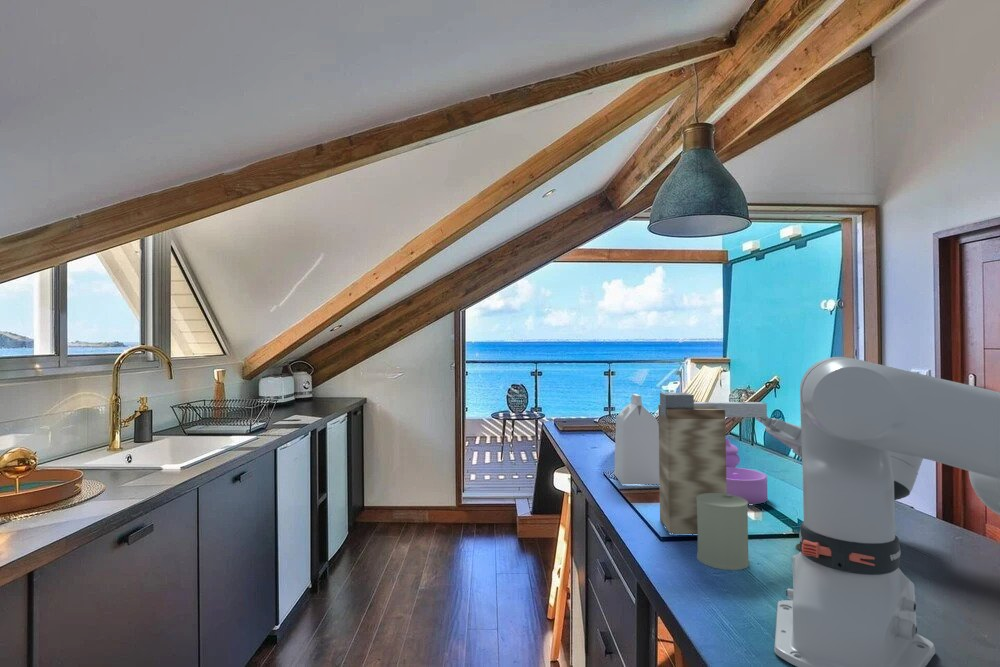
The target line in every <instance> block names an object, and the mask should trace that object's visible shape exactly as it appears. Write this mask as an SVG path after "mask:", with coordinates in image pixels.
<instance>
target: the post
mask: <svg viewBox="0 0 1000 667" xmlns="http://www.w3.org/2000/svg"><path fill="white" fill-rule="evenodd" d="M658 425H659V482H660V486H659V521H660V520H661V521H660V523H661V524H662V523H663V524H664V526H665V527H666V529H667V530H668V532H669V533H671V534H672V533H673V534H692V535H693V534H698V526H697V499H696V497H697V496H698V495H700V494H705V493H723V494H727V485H726V439H727V437H726V436H727V434H726V417H725V410H724V409H666V417H664V416H662V415H661V414H660V404H658ZM663 524H662V525H663ZM664 526H663V527H664ZM665 527H664V528H665ZM666 529H665V530H666ZM667 530H666V531H667ZM668 532H667V533H668ZM669 533H668V534H669Z"/></svg>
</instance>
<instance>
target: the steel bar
mask: <svg viewBox="0 0 1000 667" xmlns="http://www.w3.org/2000/svg"><path fill="white" fill-rule="evenodd" d="M694 396H695V395H694V394H692V393H689V392H659V405H660V414H661V415H662V416H664V417H666V409H724V410H725V418H756V417H768V409H767V408H768V407H767V406H768V405H767V404H768V403H765V402H763V401H762V402H761V401H757V402H756V401H741V402H740V401H694V400H695V399H694Z"/></svg>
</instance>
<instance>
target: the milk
mask: <svg viewBox="0 0 1000 667" xmlns="http://www.w3.org/2000/svg"><path fill="white" fill-rule="evenodd" d="M614 436H615V439H614V440H615V441H614V474H613V475H615V476H616V477H617V478H618V479H619V480H620V482H621V483H622V484H660V482H659V421H658V420H657V418H656V417H654V415H652V414H651V412H649V410H647V408H645V407H644V405H643V403H642V395H640V394H637V393H632V394H631V400H630V403H629V404H627V405H625V406H624V407H623V408H622V409H621V411H620V412H619V413H618V415H617V416H616V418H615V435H614ZM615 476H614V477H615ZM616 477H615V478H616ZM620 482H619V483H620Z"/></svg>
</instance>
